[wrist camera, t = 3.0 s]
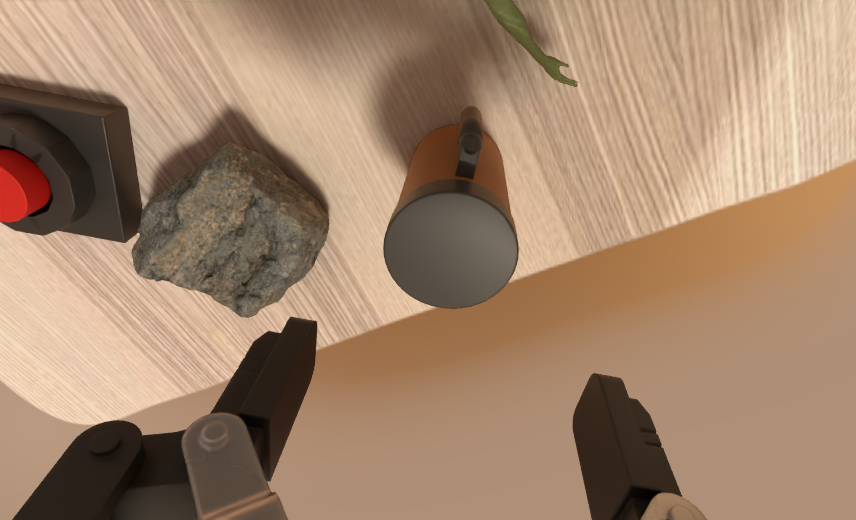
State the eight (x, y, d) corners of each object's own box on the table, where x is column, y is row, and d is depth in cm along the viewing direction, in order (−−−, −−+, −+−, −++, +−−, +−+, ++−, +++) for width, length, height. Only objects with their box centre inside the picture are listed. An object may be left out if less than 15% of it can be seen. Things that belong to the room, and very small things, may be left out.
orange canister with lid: (492, 220, 30) (500, 319, 22) (403, 203, 30) (375, 296, 22) (524, 102, 27) (548, 165, 18) (422, 82, 26) (398, 136, 18)
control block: (10, 202, 32) (-45, 230, 29) (-28, 77, 28) (-97, 92, 25) (145, 227, 33) (106, 258, 29) (127, 107, 28) (80, 126, 25)
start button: (-5, 203, 28) (-32, 215, 27) (-24, 142, 26) (-54, 153, 25) (57, 214, 28) (34, 228, 27) (42, 155, 26) (16, 166, 25)
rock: (291, 112, 28) (258, 138, 24) (358, 258, 32) (340, 302, 28) (115, 172, 31) (57, 204, 26) (199, 298, 35) (161, 344, 31)
